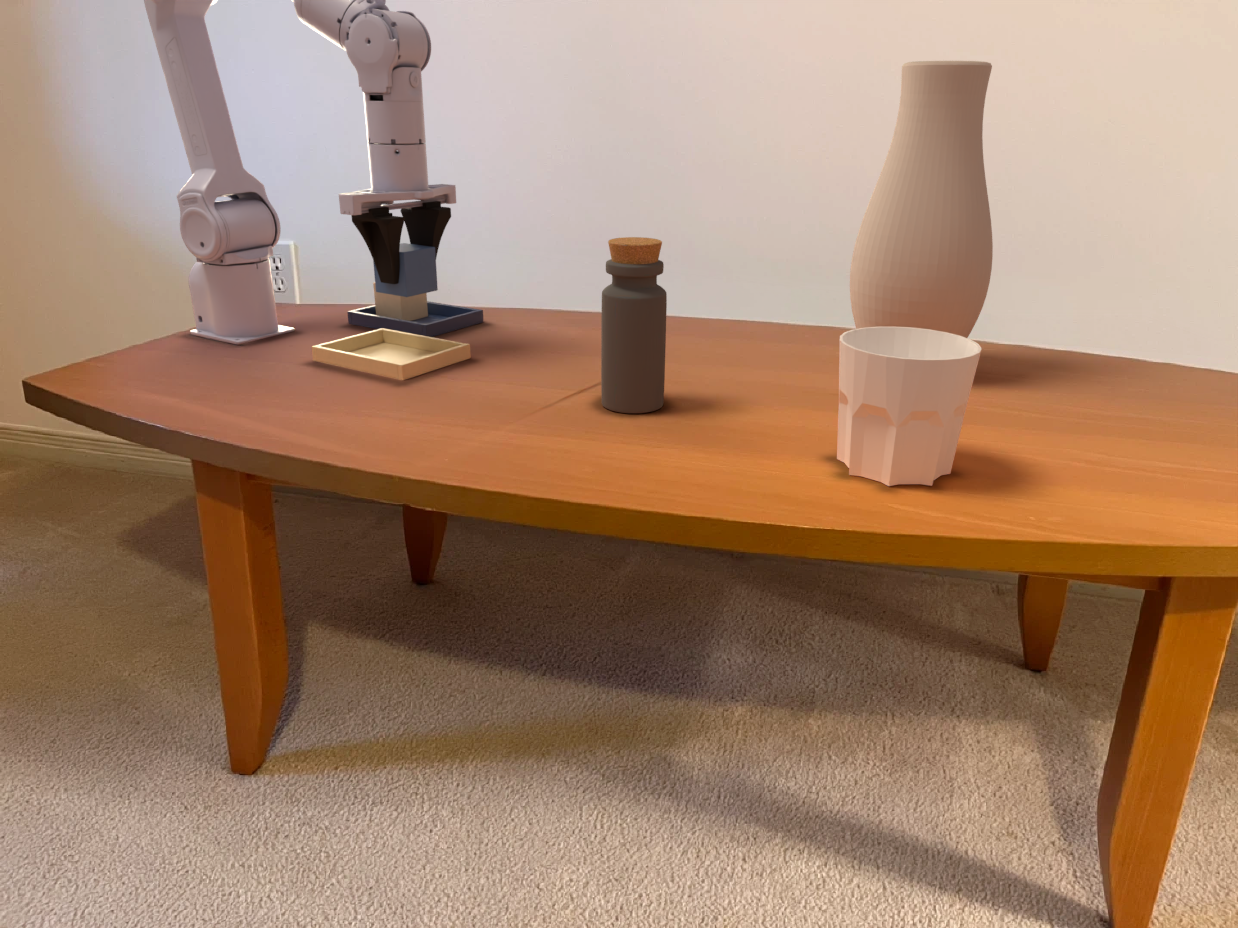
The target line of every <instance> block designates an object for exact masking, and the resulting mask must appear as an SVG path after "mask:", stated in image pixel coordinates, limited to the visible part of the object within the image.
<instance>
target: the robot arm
mask: <svg viewBox="0 0 1238 928" xmlns="http://www.w3.org/2000/svg"><path fill="white" fill-rule="evenodd" d="M218 1H219V0H143V2H144V3H143V4H144V8H145V10H146V15H147V18H148V21H149V26H150V29H151V33H152V36H153V39H154V43H155V47H156V50H157V55H158V58H159V62H160V65H161V68H162V72H163V75H164V79H165V82H166V86H167V91H168V94H169V97H170V101H171V104H172V108H173V112H174V116H175V118H176V121H177V122H176V123H177V125H178V129H179V132H180V137H181V140H182V142H183V148H184V151H185V154H186V159H187V161H188V162H187V163H188V165H189V168H190V172H191V176H190V177H189V178H188V180H187V182H186V183H185V184H184V185H183V186H182V187H181V188H180V190H179V191H178V193H177V194H176V199H177V203H178V207H179V231H180V235H181V239H182V241H183V243H184V245H185V247H186V248H187V250H188V252H189V253H191V254H192V256H194V257H195V259H196V261H195V263H194V264H193V265H192V267H191V269H190V271H189V274H188V288H189V295H190V300H191V306H192V311H193V318H194V323H195V329H191V330H189V334H190V335H191V336H196V337H201V338H205V339H210V340H215V341H220V342H224V343H228V344H232V345H237V346H241V345H242V344H245V343H250V342H254V341H258V340H262V339H267V338H271V337H275V336H278V335H284V334H288V333H292V332H295V331H296V328H294V327H292V326H286V325H281V324H279V321H278V314H277V313H278V312H277V305H276V298H275V291H274V283H273V275H272V268H271V260H270V257H274V248H275V247H276V246H277V244H278V242H279V240H280V237H281V222H280V218H279V215H278V212H277V211H276V209H275V208H274V206H273V204H272V203H271V202H270V200H269V198H268V195H267V192H266V188H265V187H266V186H265V185H264V184H263V183H262V182H261V181H260V180H259V179H258V178H256V176H254V175H252V174H251V173H250V172H249V171H247V169H245V168H244V164H243V160H242V157H241V153H240V149H239V145H238V141H237V137H236V134H235V130H234V126H233V123H232V119H231V115H230V111H229V107H228V104H227V100H226V96H225V92H224V88H223V84H222V81H221V77H220V73H219V69H218V65H217V61H216V58H215V57H216V56H215V54H214V51H213V46H212V44H211V39H210V35H209V31H208V27H207V23H206V20H205V17H206V15H207V13H208V11H209V9H210V7H211V6H213V5H215V4H216V3H218ZM290 1H291V2H293V6H294V11H295V13H296V16H297V18H298V20H299V21H300V22H301V23H302V24H303V25H305V26H307V27H308V28H309V29H311V30H312V31H314V32H316V33H318V34H319V35H320V36H322V37H323V38H325V39H327V40H328V41H330V42H331V43H333V44H334V45H336V46H337V47H339V48H340V49H342V50H343V51H345V52H346V54H347V57H348V59H349V61H350V63H351V64H352V66H353V67H354V69H355V71H356V73H357V78H358V87H360V88H361V91H362V96H363V107H364V119H365V130H366V141H367V153H368V154H367V155H368V165H369V175H370V176H369V177H370V187H371V188H366V189H362V190H361V189H360V190H355V191H351V192H349V191H348V192H343V193H342V192H341V193H338V202H339V212H340V214H341V215H347V216H351V222H352V224H353V225H354V226H355V228H356V229H357V231H358V232H359V234H360V235H361V237H362V239H363V241H364V243H365V244H366V246H367V248H368V250H369V253H370V255H371V258H372V261H373V260H374V263H375V266H376V269H377V272H378V275H379V278H380V281H381V282H382V283H388V284H398V282H399V272H400V257H399V249H400V244H401V238H402V232H403V227H404V224H405V227H406V231H407V235H408V239H409V244H415V245H423V246H430V247H435V254H436V258H438V252H439V248H440V244H441V240H442V237H443V234H444V232H445V229H446V228H447V225H448V223H449V221H450V220H451V218H452V209H451V207H448V206H442V205H444V204H447V205H453V204H457V190H456V188H457V187H456V184H445V183H439V184H437V183H436V184H429V175H428V173H429V172H428V157H427V145H426V140H427V139H426V126H425V110H424V96H423V82H422V81H423V77H422V72H423V71H424V70H425V68H426V67H427V66H428V63H429V62H430V58H431V55H432V41H431V36H430V33H429V31H428V29H427V27H426V25H425V24H424V22H422V21H421V20H420V19H419V18H418V17H417V16H416V14H414V12H412V11H407V10H397V11H392V10H390V8H389V7H388V6H387V5H386V2H387V0H290ZM217 198H229V199H228V200H219V201H216V200H217ZM394 201H395V202H396V203H395V202H394ZM397 201H399V202H397ZM400 201H405V202H400ZM393 210H400V213H401V216H396V215H393V212H390V211H393Z"/></svg>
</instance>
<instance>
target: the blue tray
mask: <svg viewBox="0 0 1238 928" xmlns="http://www.w3.org/2000/svg"><path fill="white" fill-rule="evenodd" d="M427 308H428V317H424V318H420V319H416V320H412V321H407V320H401V319H396V318H390V317H384V316H378V315H376V308H375V304H373V305H368V306H364V307H361V308H360V307H359V308H356V309H351V310H347V321H348V322H347V324H348V325H353V326H359V327H364V328H369V329H373V330H377V329H380V328H385V329H390V330H395V331H401V332H406V333H412V334H417V335H423V336H428V337H437V336H440V335H444V334H447V333H450V332H454V331H457V330H460V329H464V328H468V327H472V326H474V325H478V324H481V323H484V309H480V308H473V307H468V306H467V307H466V306H460V305H455V304H448V303H441V302H434V301H429V300H427Z"/></svg>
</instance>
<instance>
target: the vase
mask: <svg viewBox="0 0 1238 928" xmlns="http://www.w3.org/2000/svg"><path fill="white" fill-rule="evenodd" d="M992 69H993V65H992V63H991V62H988V61H982V60H980V61H979V60H923V61H922V60H919V61H918V60H917V61H908V62H904V63H903V64H902V66H901V80H900V81H901V84H900V97H899V105H898V112H897V117H896V122H895V127H894V130H893V135H892V138H891V142H890V145H889V148H888V151H887V154H886V157H885V159H884V162H883V166H882V168H881V171H880V174H879V176H878V178H877V180H876V184H875V187H874V189H873V191H872V194H871V195H870V199H869V200H868V204H867V207H866V210H865V212H864V215H863V217H862V221H861V223H860V226H859V229H858V233H857V236H856V239H855V243H854V247H853V251H852V257H851V262H850V271H849V297H850V306H851V313H852V318H853V321H854V325H855V329H859V328H867V327H911V328H921V329H930V330H936V331H942V332H947V333H951V334H955V335H959V336H962V337H965V338H968V339H969V336H970V334H971V333H972V331H973V329H974V327H975V325H976V323H977V321H978V319H979V316H980V315H981V313H982V310H983V307H984V305H985V301H986V298H987V295H988V291H989V287H990V282H991V276H992V268H993V255H994V254H993V252H994V251H993V247H994V245H993V229H992V219H991V218H992V217H991V209H990V201H989V195H988V187H987V186H988V185H987V179H986V172H985V161H984V160H985V159H984V148H983V147H984V146H983V145H984V142H983V130H984V129H983V128H984V127H983V126H984V125H983V124H984V111H985V104H986V96H987V92H988V87H989V82H990V77H991V73H992Z"/></svg>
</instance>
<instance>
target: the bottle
mask: <svg viewBox="0 0 1238 928" xmlns="http://www.w3.org/2000/svg"><path fill="white" fill-rule="evenodd" d="M607 243H608V248H609V253H610V259H608V260H606V261H605V272H606V273H607V274H608V275H611V283H610V284H608V285H607V286H606V287H604V288H603V290H602V292H601V314H600V315H601V325H600V326H601V333H600V335H601V339H600V342H601V343H600V345H601V346H600V347H601V349H600V350H601V351H600V352H601V353H600V354H601V355H600V356H601V358H600V359H601V360H600V361H601V363H600V364H601V365H600V366H601V367H600V369H601V370H600V374H601V375H600V377H601V378H600V379H601V381H600V383H601V384H600V385H601V389H600V390H601V391H600V392H601V405H602V407H604V408H605V409H606V410H609V411H612V412H616V413H622V414H645V413H651V412H656V411H658V410H660V409H661V408H662V407H663V406H664V403H665V402H664V400H665V398H664V397H665V377H666V376H665V375H666V347H667V346H666V345H667V344H666V343H667V310H668V309H667V306H668V304H667V303H668V302H667V301H668V299H667V297H668V295H667V290H666V289H665V288H663V286H661V285H659V284H658V281H657V280H658V276H660V275H662V274H663V273H664V268H665V267H664V266H665V265H664V261H662V260H660V259H659V258H660V253H661V249H662V246H663V241H662V240H661V239H658V238H652V237H641V236H640V237H639V236H628V237H626V236H625V237H616V238H611V239H609V240H608V241H607Z"/></svg>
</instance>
